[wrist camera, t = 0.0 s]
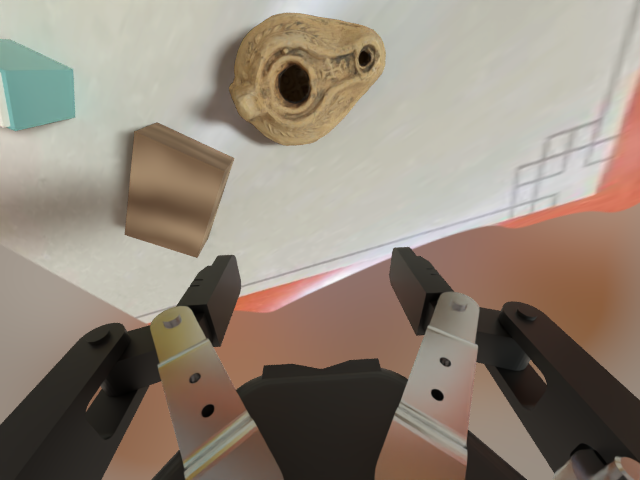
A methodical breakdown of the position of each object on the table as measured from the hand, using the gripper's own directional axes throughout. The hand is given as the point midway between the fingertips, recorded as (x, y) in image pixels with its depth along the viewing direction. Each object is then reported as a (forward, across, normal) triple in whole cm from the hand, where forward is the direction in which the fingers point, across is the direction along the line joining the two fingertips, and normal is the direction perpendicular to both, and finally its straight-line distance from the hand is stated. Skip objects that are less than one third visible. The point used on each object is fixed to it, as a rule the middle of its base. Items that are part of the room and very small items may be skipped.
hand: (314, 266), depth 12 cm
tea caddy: (+21, +27, -10) cm, 36 cm away
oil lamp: (+21, 0, -10) cm, 24 cm away
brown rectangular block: (+23, +17, +2) cm, 29 cm away
